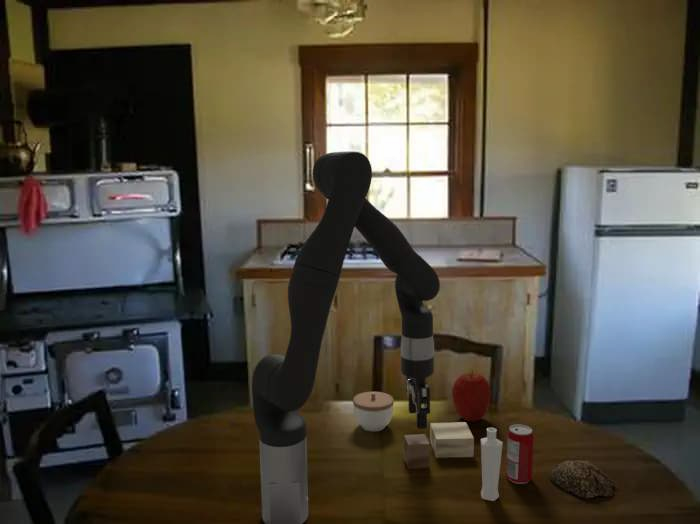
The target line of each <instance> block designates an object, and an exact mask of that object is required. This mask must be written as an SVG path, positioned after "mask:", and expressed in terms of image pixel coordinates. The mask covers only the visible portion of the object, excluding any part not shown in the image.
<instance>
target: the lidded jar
mask: <svg viewBox="0 0 700 524" xmlns="http://www.w3.org/2000/svg"><path fill="white" fill-rule="evenodd" d="M394 401H395V399H394V397H393V396H392V395H391V394H388V393H387V392H386V393H385V392H382V391H366V392H365V391H364V392H360V393H358V394H356V395H355V396H354V397H353V399H352V404H353V413H354V417H355V421H356V422H357V423H358V424H359V426H361V428H362V429H363V430H364V431H366V432H380V431H383V430H384V429H385V427H386V426H387V425H389V423H390V422H391V420H392V417H393V413H394V405H395V402H394Z"/></svg>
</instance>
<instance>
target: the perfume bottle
mask: <svg viewBox="0 0 700 524" xmlns="http://www.w3.org/2000/svg"><path fill="white" fill-rule="evenodd" d="M497 431H498V430H497V428H495V427H487V428H486V437H483V438H480V455H481V459H480V460H481V478H482V482H481V483H482V487H481V491H480V496H481V499H482V500H486V501H491V502H495V501H496V500H497V499H498V498H499V497H500V495H499V481H500V480H499V479H500V478H499V477H500V471H501V461H502V454H503V453H502V452H503V446H504V445H503V444H504V443H503V441H501V440H500V439H498V438H497Z"/></svg>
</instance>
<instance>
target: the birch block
mask: <svg viewBox="0 0 700 524" xmlns="http://www.w3.org/2000/svg"><path fill="white" fill-rule="evenodd" d="M429 440H430V441H429V443H430V446H431V448H432V450H433V453H434V455H435V458H436V459H438V458H439V459H441V458H442V459H443V458H448V457H449V458H474V455H475V453H474V451H475V449H474V448H475V447H474V446H475V445H474V444H475V437H474V436H473V434H472V432H471V430H470V428H469V425H468V424H467V421H466V422H465V421H463V422H462V421H459V422H458V421H457V422H452V421H451V422H430V423H429Z"/></svg>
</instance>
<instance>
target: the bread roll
mask: <svg viewBox="0 0 700 524" xmlns="http://www.w3.org/2000/svg"><path fill="white" fill-rule="evenodd" d="M548 475H549V480H551V481H552V482H553V484H554V485H556V486H558V487H559V488H560V489H562V490H563V491H564V492H568V493H571V494H573V495H575V496H577V497H578V498H583V499H593V498H597V497H598V496H600V497H605V498H609V497H612V496H613V494H614V490H613V488H614V487H615V480H613V479H612V478H611V477H610V476H609V475H607V474H606V473H605V472H603V471H602V470H601V469H599V468H598V467H597V466H596V465H594V463H592V462H590V461H589V460H566V461H563V462H562V463H559V464H557V465H556V466H555V467H552V469H550V472H549V474H548Z"/></svg>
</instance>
